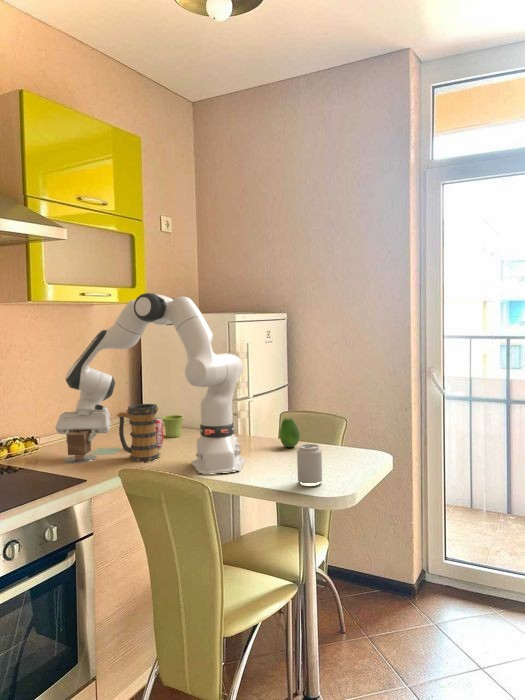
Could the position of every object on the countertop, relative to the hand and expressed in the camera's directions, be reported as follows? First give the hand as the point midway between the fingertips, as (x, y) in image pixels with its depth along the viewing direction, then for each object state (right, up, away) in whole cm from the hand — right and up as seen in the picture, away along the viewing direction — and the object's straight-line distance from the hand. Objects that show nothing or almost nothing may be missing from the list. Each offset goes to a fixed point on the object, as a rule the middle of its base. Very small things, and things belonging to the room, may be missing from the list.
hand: (78, 441), depth 209 cm
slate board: (0, -7, +1) cm, 7 cm away
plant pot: (+30, -4, +39) cm, 49 cm away
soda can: (+25, -6, +17) cm, 31 cm away
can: (+84, -7, -38) cm, 92 cm away
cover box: (0, -4, +1) cm, 4 cm away
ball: (0, -7, +1) cm, 7 cm away
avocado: (+80, -4, +11) cm, 81 cm away
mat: (+7, -6, +12) cm, 15 cm away
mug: (+23, -7, 0) cm, 24 cm away
